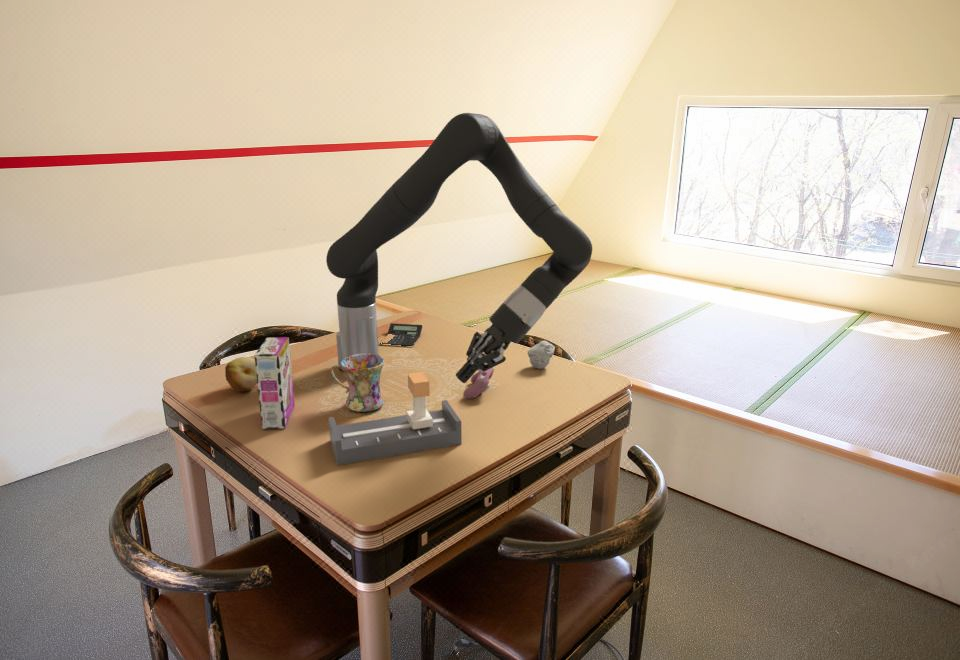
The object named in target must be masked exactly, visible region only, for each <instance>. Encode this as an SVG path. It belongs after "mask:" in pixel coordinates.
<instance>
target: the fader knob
mask: <svg viewBox="0 0 960 660" xmlns="http://www.w3.org/2000/svg"><path fill="white" fill-rule="evenodd" d="M407 389H408V390H409V391H410V393H411V395H412V409H411V410H406V415H407V419H408V421H409V423H410V425H411V427H412V429H419V428H426V427H432V426H433V418H432V417H431V415H430V414H429V410H428V409H427V408H426V397H430V396H431V395H430V391H431V390H430V381H429V379H428V378H427V376H426V374H425V373H424V372H423V371H418V372H411V373H407Z"/></svg>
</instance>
